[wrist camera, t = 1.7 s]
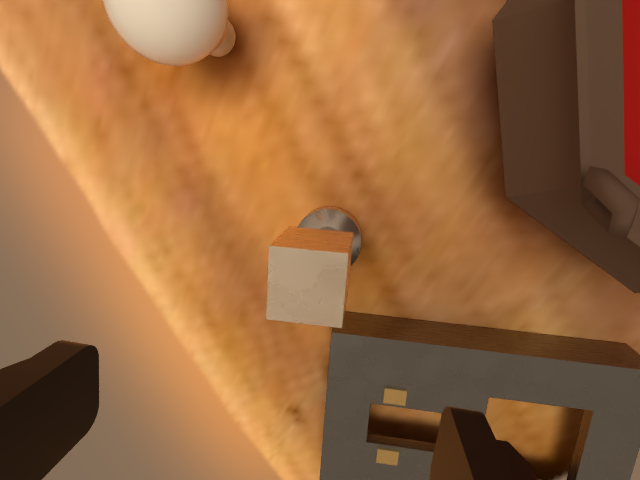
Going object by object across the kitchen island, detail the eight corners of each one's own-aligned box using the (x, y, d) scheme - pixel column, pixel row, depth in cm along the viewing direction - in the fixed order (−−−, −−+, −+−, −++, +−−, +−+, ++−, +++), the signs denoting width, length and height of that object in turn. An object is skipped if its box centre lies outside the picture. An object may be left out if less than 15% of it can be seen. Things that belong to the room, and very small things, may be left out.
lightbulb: (281, 31, 29) (226, -36, 18) (228, 103, 30) (151, 80, 20) (212, -31, 28) (115, -135, 18) (163, 46, 30) (48, -8, 19)
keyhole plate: (625, 343, 31) (664, 373, 27) (584, 495, 34) (613, 543, 30) (336, 310, 33) (331, 333, 29) (324, 455, 36) (318, 494, 32)
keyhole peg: (364, 209, 31) (359, 244, 20) (358, 271, 32) (350, 338, 21) (300, 203, 31) (259, 235, 20) (296, 264, 33) (256, 326, 21)
